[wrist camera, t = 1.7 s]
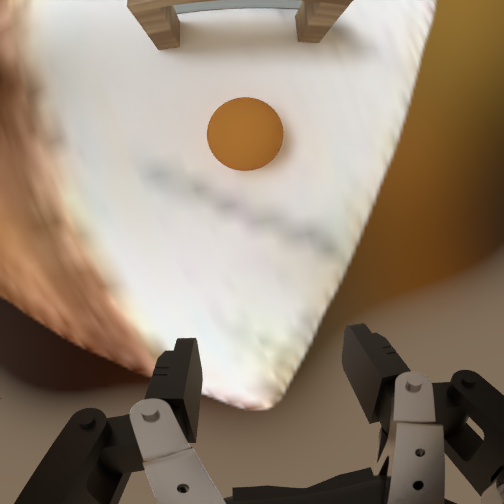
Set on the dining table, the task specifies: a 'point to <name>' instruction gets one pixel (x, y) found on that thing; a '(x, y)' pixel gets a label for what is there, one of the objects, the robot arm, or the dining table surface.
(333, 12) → the tan arch
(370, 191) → the dining table surface
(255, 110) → the ball
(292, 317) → the dining table surface
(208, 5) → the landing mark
